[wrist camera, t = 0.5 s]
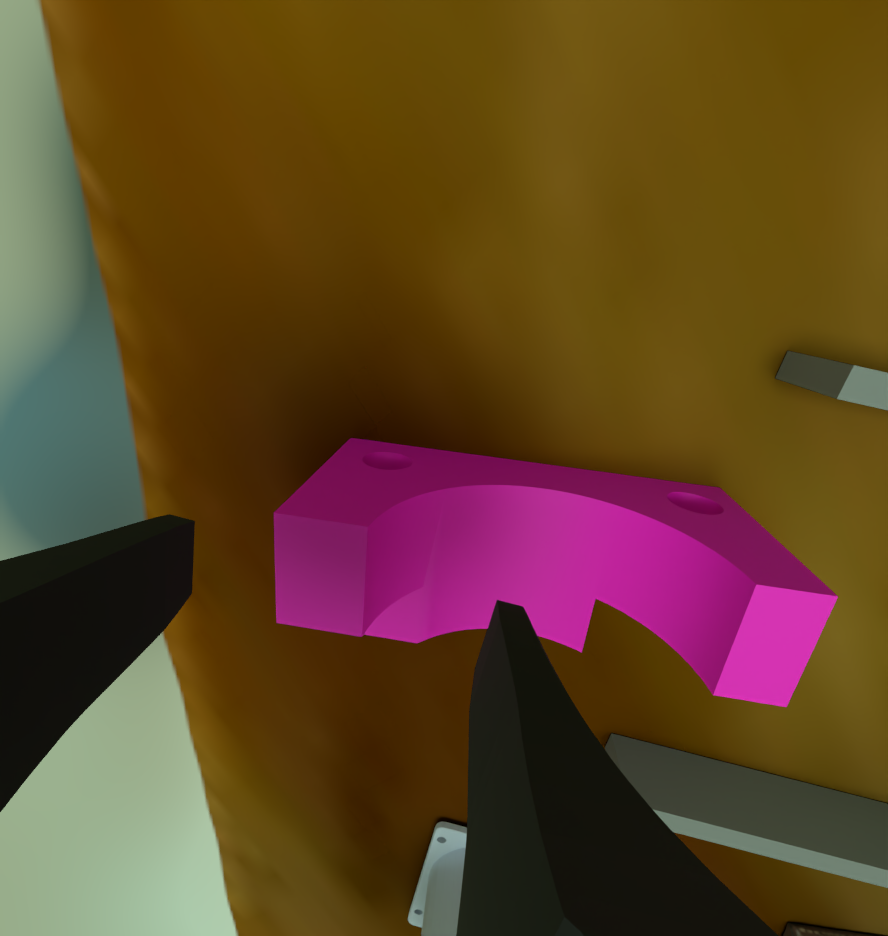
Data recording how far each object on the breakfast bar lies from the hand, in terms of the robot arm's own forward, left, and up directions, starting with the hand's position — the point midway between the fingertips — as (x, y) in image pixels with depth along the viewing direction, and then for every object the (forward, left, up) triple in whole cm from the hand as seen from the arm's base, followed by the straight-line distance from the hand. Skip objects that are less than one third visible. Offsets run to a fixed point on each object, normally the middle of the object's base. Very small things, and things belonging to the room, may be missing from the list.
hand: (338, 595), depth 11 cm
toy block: (-2, -5, -10) cm, 12 cm away
